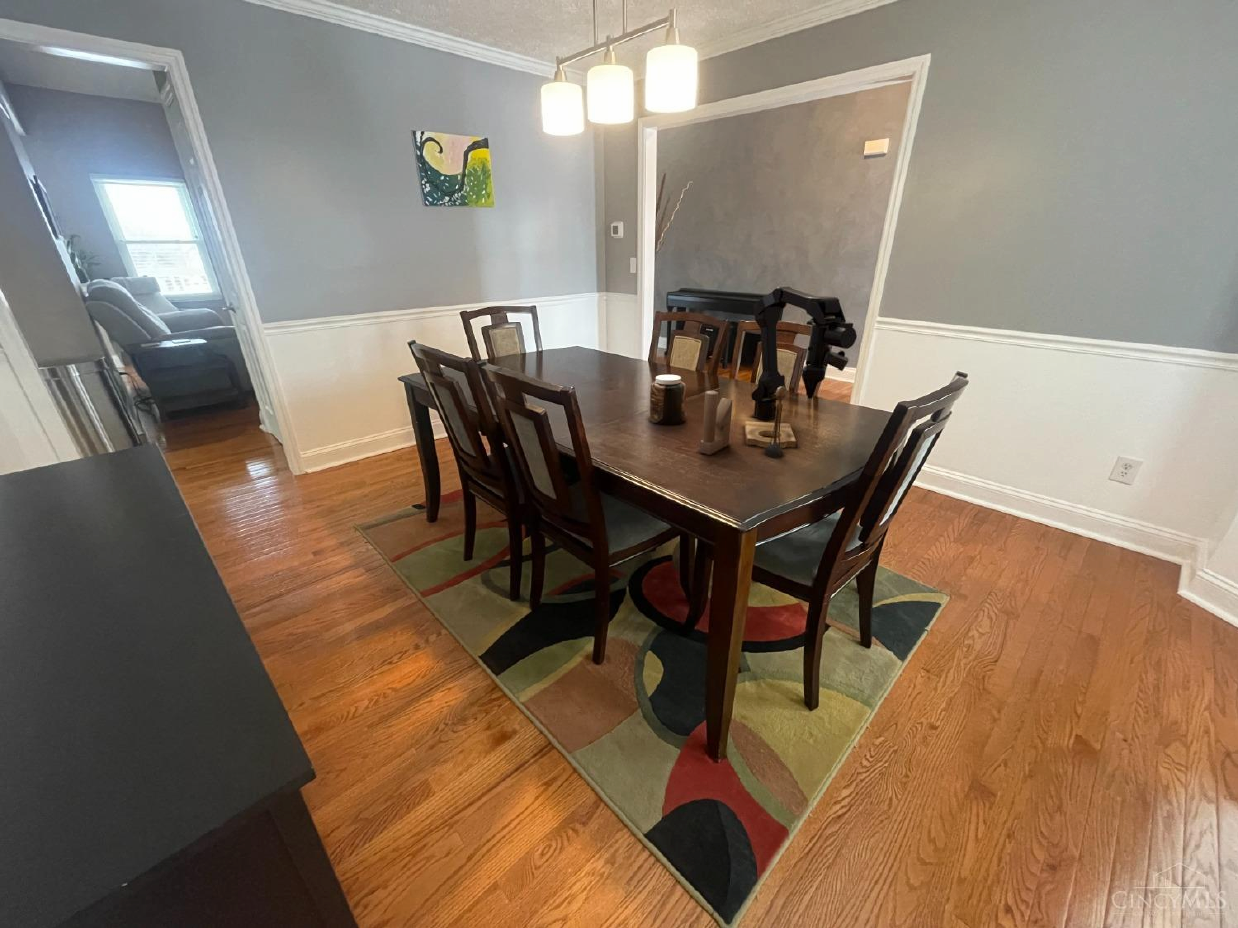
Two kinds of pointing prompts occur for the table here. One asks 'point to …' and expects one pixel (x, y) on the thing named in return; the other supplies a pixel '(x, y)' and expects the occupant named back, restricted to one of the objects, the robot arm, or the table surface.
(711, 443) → the beige post stand
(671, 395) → the jar
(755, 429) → the wooden board with hole
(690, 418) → the table surface
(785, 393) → the wooden tabletop sculpture
